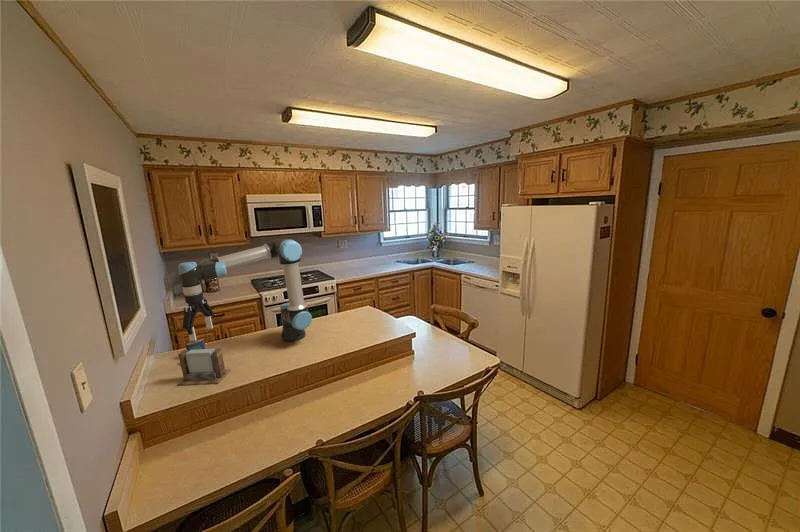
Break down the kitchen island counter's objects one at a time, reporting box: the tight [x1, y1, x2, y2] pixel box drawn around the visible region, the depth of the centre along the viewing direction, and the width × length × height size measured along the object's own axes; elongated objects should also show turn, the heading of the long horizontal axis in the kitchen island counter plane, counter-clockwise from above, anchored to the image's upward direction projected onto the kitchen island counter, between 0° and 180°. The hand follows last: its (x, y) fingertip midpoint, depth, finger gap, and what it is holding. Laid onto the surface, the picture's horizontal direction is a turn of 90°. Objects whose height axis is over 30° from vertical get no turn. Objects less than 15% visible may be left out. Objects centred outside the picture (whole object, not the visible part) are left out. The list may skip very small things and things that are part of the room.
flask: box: [185, 338, 207, 351], centre depth 179 cm, size 9×3×11 cm, turn 138°
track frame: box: [177, 348, 232, 387], centre depth 155 cm, size 20×12×15 cm, turn 90°
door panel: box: [186, 348, 217, 376], centre depth 155 cm, size 12×4×14 cm, turn 90°
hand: (202, 334), depth 154 cm, fingers open, 13 cm apart
